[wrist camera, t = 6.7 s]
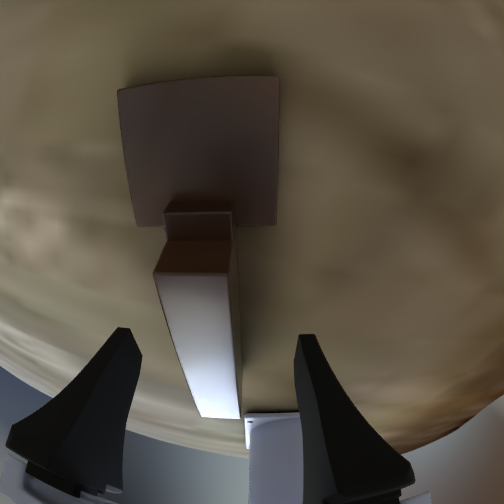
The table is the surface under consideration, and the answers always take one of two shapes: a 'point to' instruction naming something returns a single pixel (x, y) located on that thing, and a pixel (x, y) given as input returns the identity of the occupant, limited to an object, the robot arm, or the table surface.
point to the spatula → (203, 210)
